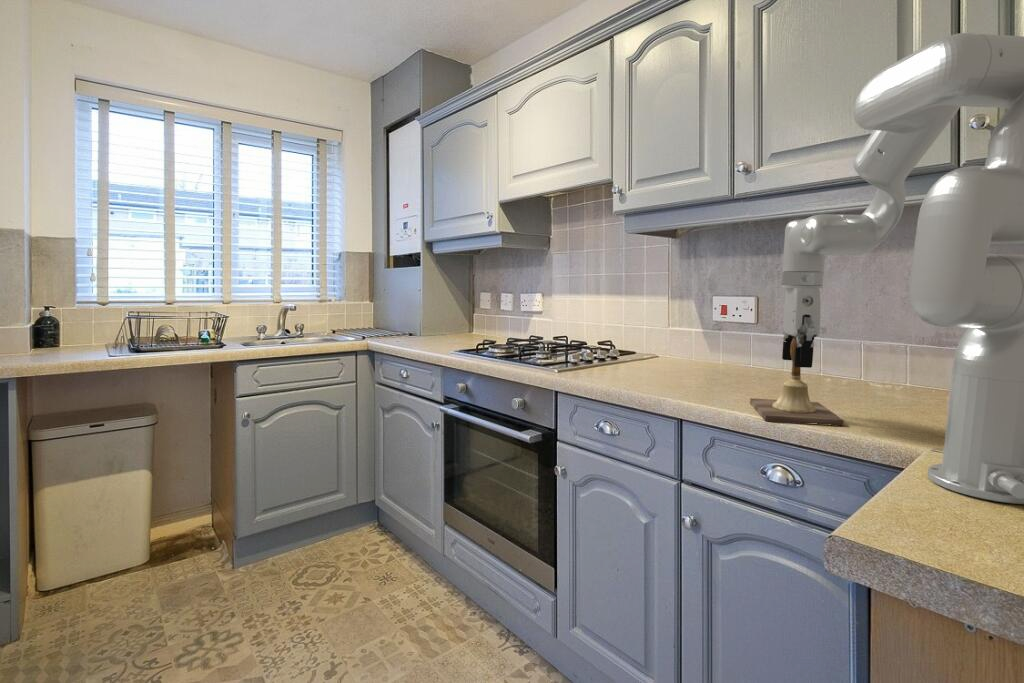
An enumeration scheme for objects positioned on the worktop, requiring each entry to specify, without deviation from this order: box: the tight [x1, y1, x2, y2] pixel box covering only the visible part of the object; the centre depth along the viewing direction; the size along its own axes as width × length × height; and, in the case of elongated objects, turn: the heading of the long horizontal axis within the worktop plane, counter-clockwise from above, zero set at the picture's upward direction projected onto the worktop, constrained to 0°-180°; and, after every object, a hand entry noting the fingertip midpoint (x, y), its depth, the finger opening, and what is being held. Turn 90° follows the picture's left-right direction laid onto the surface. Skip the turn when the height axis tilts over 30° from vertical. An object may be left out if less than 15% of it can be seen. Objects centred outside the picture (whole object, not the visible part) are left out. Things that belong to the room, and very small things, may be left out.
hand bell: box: [772, 337, 816, 413], centre depth 114 cm, size 8×8×16 cm
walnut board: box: [749, 397, 844, 426], centre depth 116 cm, size 16×14×1 cm
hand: (796, 363), depth 114 cm, fingers open, 9 cm apart
